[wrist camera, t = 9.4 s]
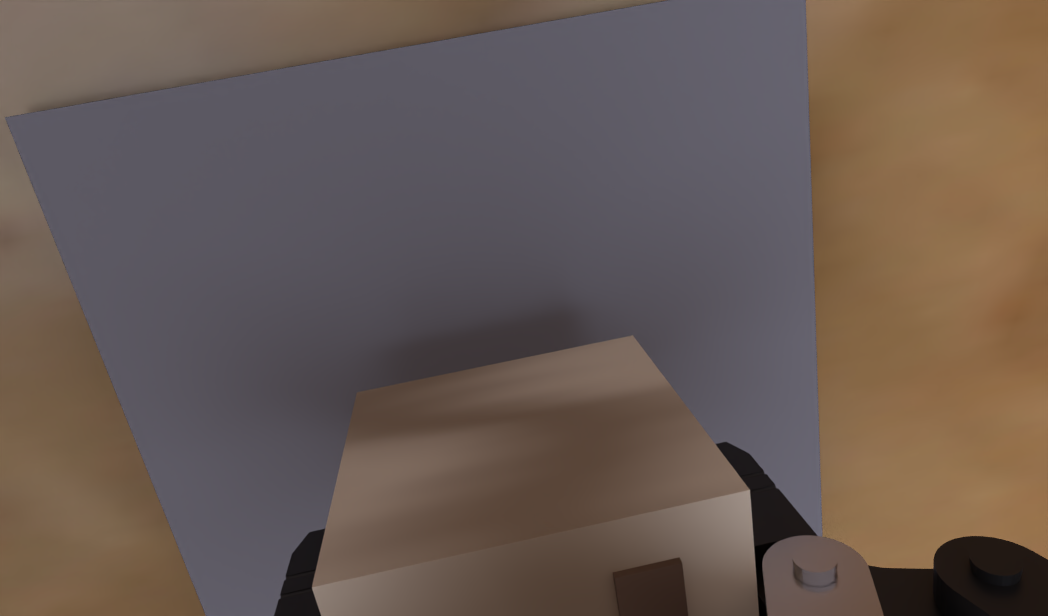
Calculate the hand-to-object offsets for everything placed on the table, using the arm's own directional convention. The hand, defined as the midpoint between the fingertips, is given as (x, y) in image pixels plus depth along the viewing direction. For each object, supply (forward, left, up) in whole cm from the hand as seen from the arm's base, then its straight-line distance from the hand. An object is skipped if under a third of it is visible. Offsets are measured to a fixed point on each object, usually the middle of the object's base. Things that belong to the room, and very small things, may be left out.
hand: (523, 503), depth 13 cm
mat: (0, 0, -5) cm, 5 cm away
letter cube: (0, 0, -1) cm, 1 cm away
